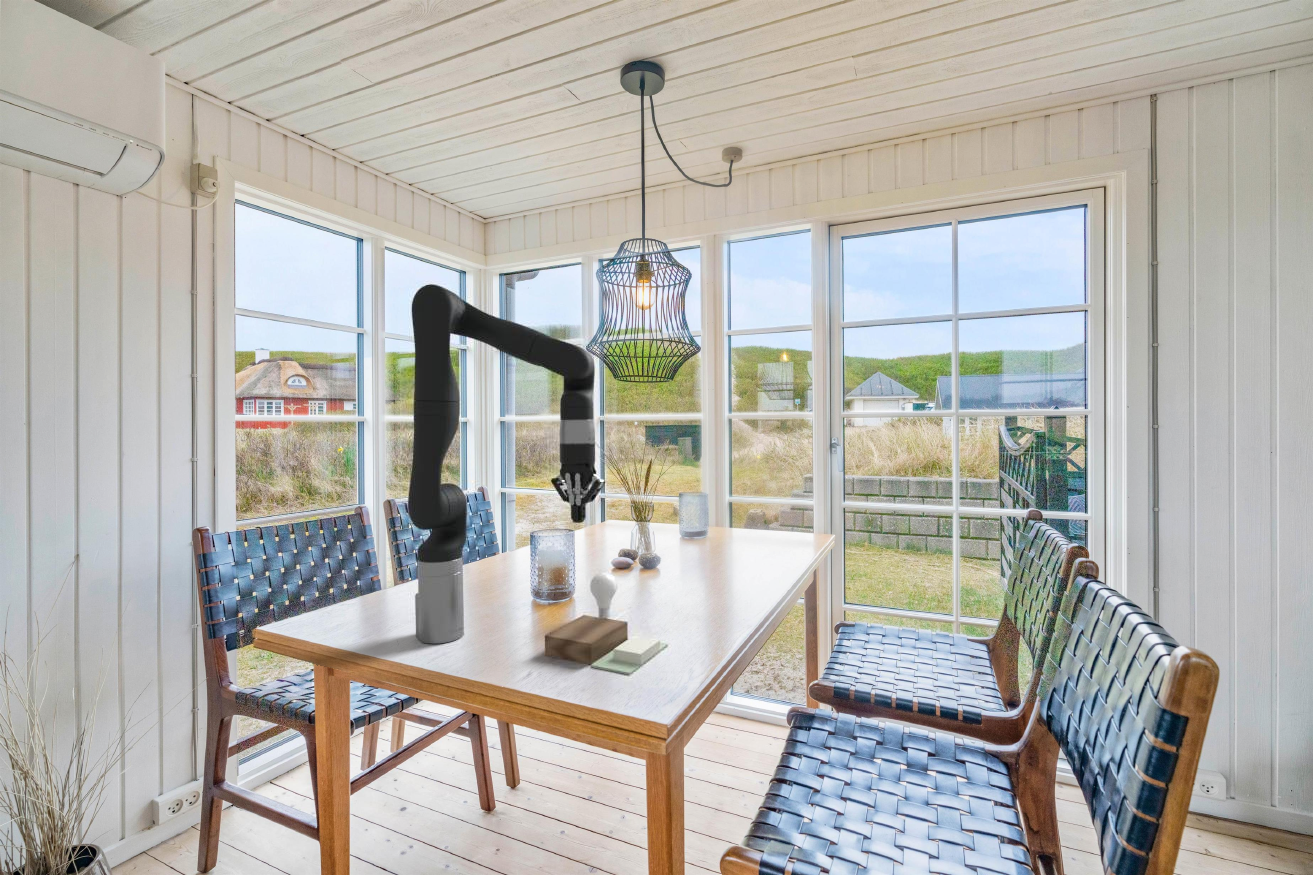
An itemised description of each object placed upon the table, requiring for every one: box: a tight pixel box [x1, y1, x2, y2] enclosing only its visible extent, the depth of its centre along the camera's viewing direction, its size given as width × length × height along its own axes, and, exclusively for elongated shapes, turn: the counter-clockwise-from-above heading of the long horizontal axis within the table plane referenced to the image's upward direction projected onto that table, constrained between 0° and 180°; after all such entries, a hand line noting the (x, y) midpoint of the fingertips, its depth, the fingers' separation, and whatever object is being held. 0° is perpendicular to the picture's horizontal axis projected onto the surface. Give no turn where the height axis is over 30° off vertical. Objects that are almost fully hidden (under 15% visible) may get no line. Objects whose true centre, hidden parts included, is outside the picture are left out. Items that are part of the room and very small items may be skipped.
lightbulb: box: [589, 571, 618, 619], centre depth 142 cm, size 6×6×11 cm
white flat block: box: [614, 635, 661, 664], centre depth 119 cm, size 6×8×2 cm
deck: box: [544, 614, 629, 666], centre depth 124 cm, size 11×14×4 cm
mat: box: [590, 641, 669, 676], centre depth 119 cm, size 8×16×1 cm, turn 153°
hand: (578, 522), depth 129 cm, fingers closed
